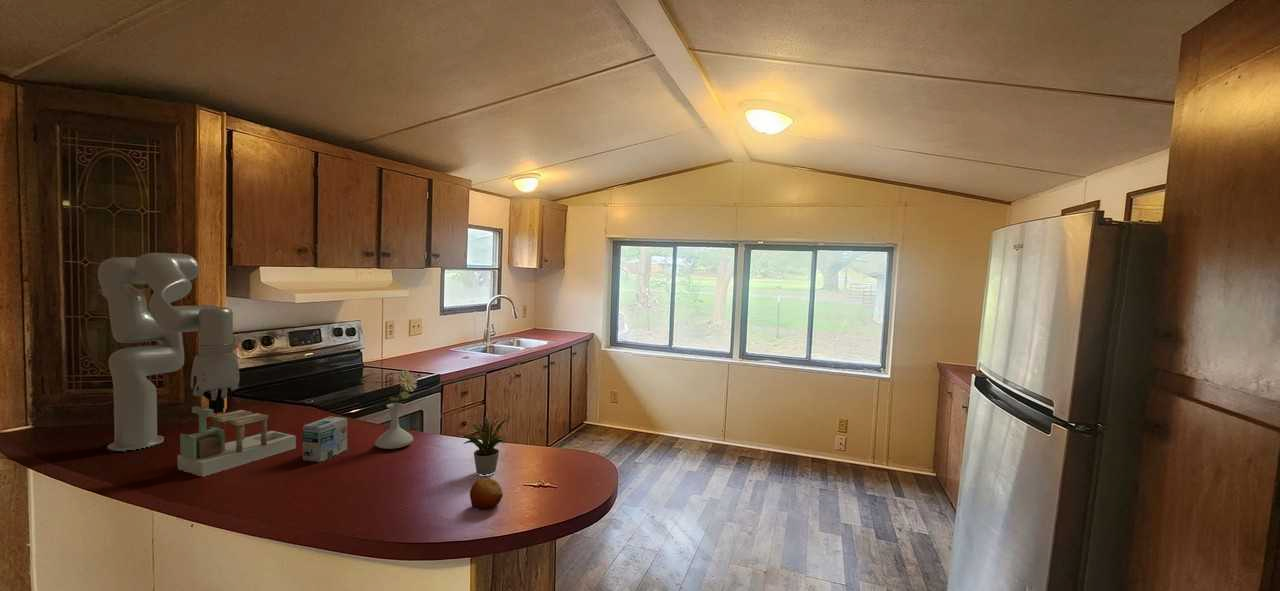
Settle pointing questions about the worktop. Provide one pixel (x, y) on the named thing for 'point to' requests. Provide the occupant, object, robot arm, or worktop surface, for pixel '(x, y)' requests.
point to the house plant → (486, 447)
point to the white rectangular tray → (239, 454)
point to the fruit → (485, 494)
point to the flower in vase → (395, 434)
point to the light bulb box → (324, 438)
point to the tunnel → (242, 424)
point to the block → (208, 446)
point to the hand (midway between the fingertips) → (216, 412)
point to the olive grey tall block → (199, 434)
